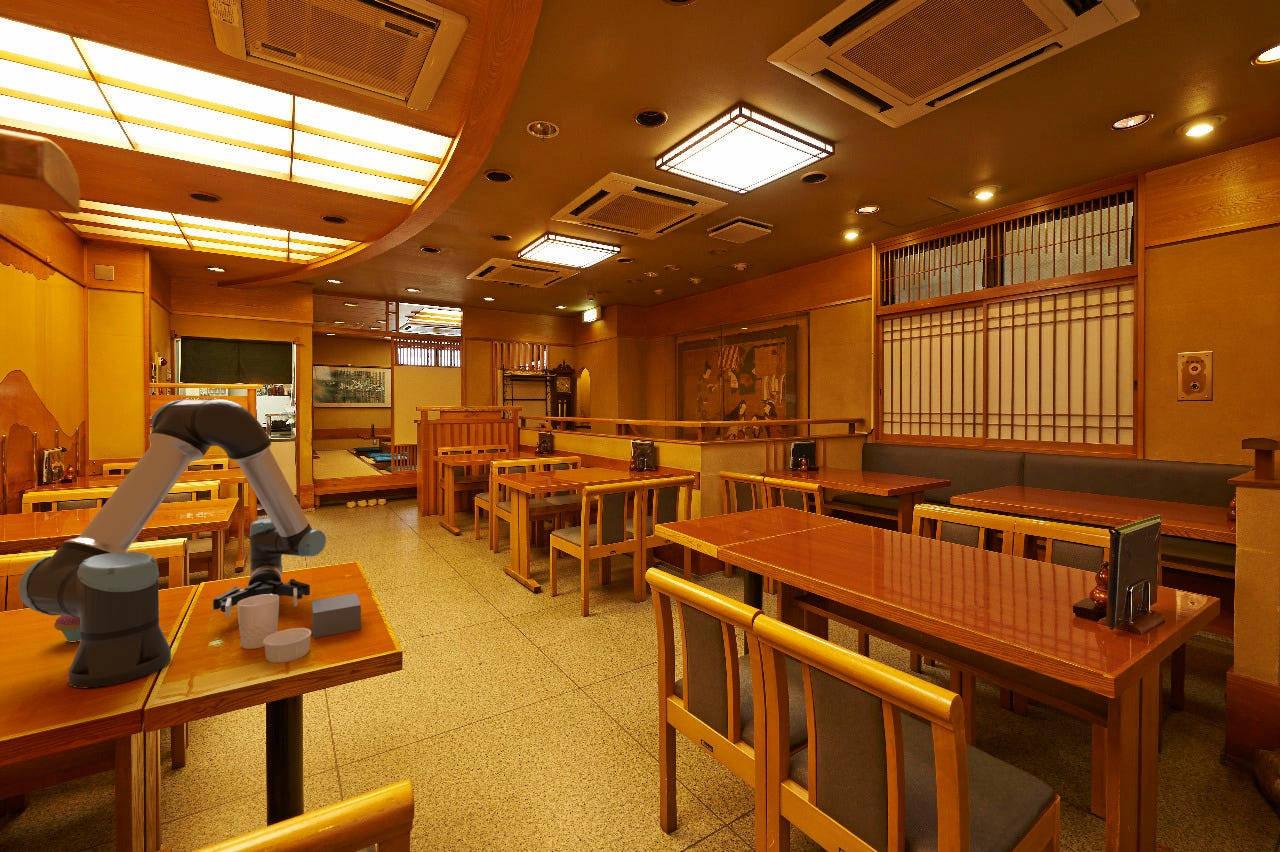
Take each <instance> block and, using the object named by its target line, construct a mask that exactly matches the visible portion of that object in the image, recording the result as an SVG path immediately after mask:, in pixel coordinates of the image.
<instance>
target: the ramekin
mask: <svg viewBox="0 0 1280 852" xmlns="http://www.w3.org/2000/svg"><path fill="white" fill-rule="evenodd" d="M312 634H313V631H312V630H311V629H310V628H306V627H296V628H295V627H294V628H286V629H283V630H280V631H277V632H276V633H273V634H271V635H269V636H267V637H266V638H265V639H264V640H263V644H264V652H265V659H266V661H267V662H268V663H273V664H283V663H287V662H288V663H289V662H292V661H296V660H299V659H300V658H302V657H304V656H306V655H307V654H308V653H309V652H310V647H311V636H312Z"/></svg>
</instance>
